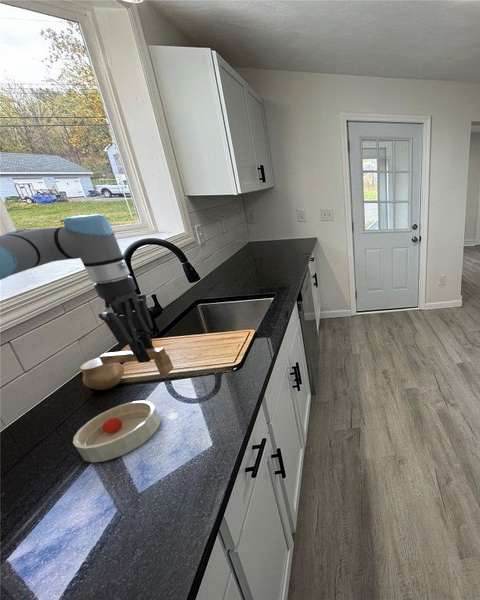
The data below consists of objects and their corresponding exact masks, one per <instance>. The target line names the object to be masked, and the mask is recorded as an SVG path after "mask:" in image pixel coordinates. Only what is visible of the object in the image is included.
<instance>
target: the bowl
mask: <svg viewBox="0 0 480 600" xmlns="http://www.w3.org/2000/svg"><path fill="white" fill-rule="evenodd" d="M112 418H117V419H119V420H120V421H121V423H122V425H121V427H120V429H119V430H118V431H116V432H114V433H106V432H104V431H103V424H104V423H105V422H106V421H107V420H109V419H112ZM160 425H161V417H160V415H159V412H158V410H157V408H156V405H155V404H154V403H153V402H151V401H149V400H134V401H131V402H130V401H129V402H126V403H122V404H119V405H117V406H115V407H112V408H110V409H107V410H105V411H104V412H101V413H99V414H97V415H96V416H94V417H93V418H92V419H90V420H89V421H88V422H86V423H85V424H84V425H83V426H81V427H80V428H79V429H78V430H77V432H76V433H75V434H74V436H73V440H72V444H73V446H74V447H75V449H76V451H77V452H78V454H79V455H80V457H81V458H82V459H83V460H84V462H88V463H100V462H106V461H109V460H113V459H116V458H119V457H122V456H124V455H126V454H128V453H130V452H132V451H133V450H135V449H137V448H138V447H141V445H143V444H144V443H145V442H146V441H148V440H149V439H150V438H151V437H152V436H154V434H155V433H156V432H157V430H158V429H159V427H160Z"/></svg>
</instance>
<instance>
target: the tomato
mask: <svg viewBox="0 0 480 600" xmlns="http://www.w3.org/2000/svg"><path fill="white" fill-rule="evenodd" d="M121 425H122V423H121V421H120V420H119V419H117V418H112V419H109V420H107V421H106V422H105V423H104V424H103V431H104V432H106V433H114V432H116V431H118V430H119V429H120V427H121Z"/></svg>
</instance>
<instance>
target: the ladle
mask: <svg viewBox="0 0 480 600" xmlns="http://www.w3.org/2000/svg"><path fill="white" fill-rule="evenodd" d="M146 351H147V354H148V356H149V358H150V360H151V361H153V362H154V364H155V366H156V368H157V371H158V373H159V375H160V376H162V375H164V376H165V375H169V373H170V372H172V370H173V369H174V365H173V363H172V361H171V357H170V355H169V353H166V350H165V348H164V347H156V348H155V347H154V349H146ZM130 362H138V360H137V358H136V356H135V354H133V353H132V351H131V350H122V351H114V352H113V351H112V352H104V353H102V354H101V355H99V356H98V357H95V358H92V359H90V360H88V361H86V362H84V363H82V364H81V365H80V367H79V368H80V371H81V373H82V374H83V375H84V376H85V378H86V379H87V381H88V383H89V384H99V383H103V382H105V381H108V380H110V379H112V378H113V377H115V376H116V375H117V374H118V371H117V369H116V367H115V365H114V363H120V364H121V363H130Z"/></svg>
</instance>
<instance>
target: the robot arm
mask: <svg viewBox="0 0 480 600" xmlns="http://www.w3.org/2000/svg"><path fill="white" fill-rule="evenodd" d="M63 225H64V226H58V227H46V228H45V227H44V228H24V229H18V230H14V231H9V232H6V233H5V234H2V235H0V281H1V280H4V279H6V278H8V277H10V276H13V275H16V274H19V273H22V272H25V271H27V270H31V269H34V268H36V267H37V268H38V267H40V266H43V265H46V264H47V265H48V264H49V263H53V262H58V261H59V262H60V261H68V260H77V259H80V261H81V262H82V264H83V266H84V269H85V271H86V273H87V275H88V278H89V280H90V282H93V284H92V285H93V287H94V290H95V291H96V294H97V296H98V297H99V298H100V299H101V300H104V306H105V310H104V312H100V313H98V318H99V319H101V320H102V321H103V322H104V323H105V324H106V325H107V327H108V329H109V331H110V332H111V333H112V335H113V336H114V338H115V340H116V341H117V343H118V344H119V346H120V345H122V346H123V345H128V346H129V348H130V351H132V353H133V354H135V356H136V358H137V360H138V361H137V362H138V364H141V363H143V364H144V363H149V362H151V361H152V360H150V358H149V356H148V354H147V351H146V349H155V347H154V345H153V340H152V337H151V335H153V332H154V331H153V329H154V325H153V321H152V318H151V314H150V311H149V307H148V304H147V295H146V294H137V292H136V290H137V285H136V283H135V280H134V278H133V276H131V275H130V274H131V271H130V270H129V269H130V268H129V267H128V265H127V263H126V260H125V258H124V254H123V253H122V251H121V248H120V245H119V242H118V240H117V238H116V236H115V231H114V230H113V229H112V226H111V224H110V222H109V220H108V218H107V217H106V216H105V215H103V214H99V213H96V214H95V213H94V214H85V215H75V216H67V217H65V218H63Z"/></svg>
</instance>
